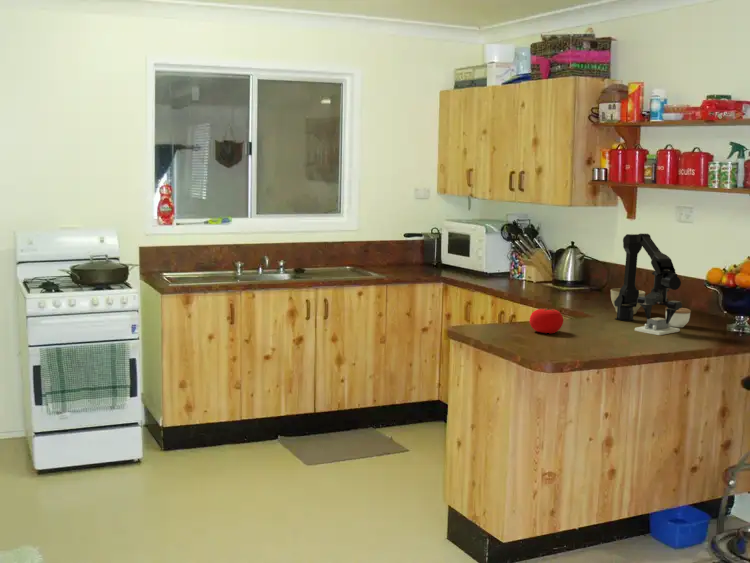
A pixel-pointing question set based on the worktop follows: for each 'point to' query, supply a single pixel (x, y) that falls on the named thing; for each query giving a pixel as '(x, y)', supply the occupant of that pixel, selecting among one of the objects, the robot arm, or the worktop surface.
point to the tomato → (546, 320)
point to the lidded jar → (679, 317)
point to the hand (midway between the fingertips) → (657, 322)
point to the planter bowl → (616, 293)
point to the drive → (657, 323)
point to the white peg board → (657, 332)
